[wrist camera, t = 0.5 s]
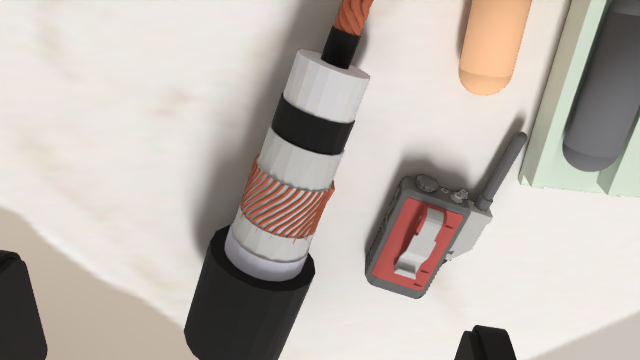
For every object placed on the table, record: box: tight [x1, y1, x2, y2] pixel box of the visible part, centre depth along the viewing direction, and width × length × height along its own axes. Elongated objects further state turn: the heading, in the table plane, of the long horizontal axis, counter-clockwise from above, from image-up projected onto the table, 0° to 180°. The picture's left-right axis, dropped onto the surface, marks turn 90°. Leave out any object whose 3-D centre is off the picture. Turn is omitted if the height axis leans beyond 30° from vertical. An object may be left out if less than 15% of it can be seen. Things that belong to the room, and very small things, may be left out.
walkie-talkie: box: [365, 132, 527, 299], centre depth 42 cm, size 9×4×20 cm
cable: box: [184, 0, 373, 360], centre depth 40 cm, size 10×34×10 cm, turn 161°
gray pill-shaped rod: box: [562, 0, 640, 172], centre depth 34 cm, size 14×4×4 cm, turn 177°
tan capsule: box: [459, 0, 532, 96], centre depth 33 cm, size 14×4×4 cm, turn 177°
